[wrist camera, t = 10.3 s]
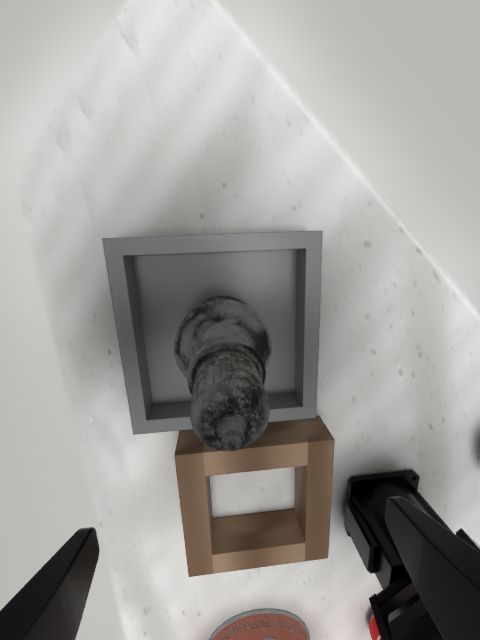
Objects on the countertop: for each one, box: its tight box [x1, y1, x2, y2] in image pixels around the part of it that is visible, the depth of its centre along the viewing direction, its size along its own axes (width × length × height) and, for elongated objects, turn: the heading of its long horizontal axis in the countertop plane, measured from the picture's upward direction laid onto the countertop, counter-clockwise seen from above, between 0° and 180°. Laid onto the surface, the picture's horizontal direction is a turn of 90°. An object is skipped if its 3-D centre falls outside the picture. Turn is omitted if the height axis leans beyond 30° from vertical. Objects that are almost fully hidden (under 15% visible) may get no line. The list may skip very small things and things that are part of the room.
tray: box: [102, 231, 323, 435], centre depth 18 cm, size 13×13×3 cm
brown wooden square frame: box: [175, 416, 335, 577], centre depth 22 cm, size 12×12×3 cm
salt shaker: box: [174, 296, 273, 451], centre depth 13 cm, size 6×6×12 cm
